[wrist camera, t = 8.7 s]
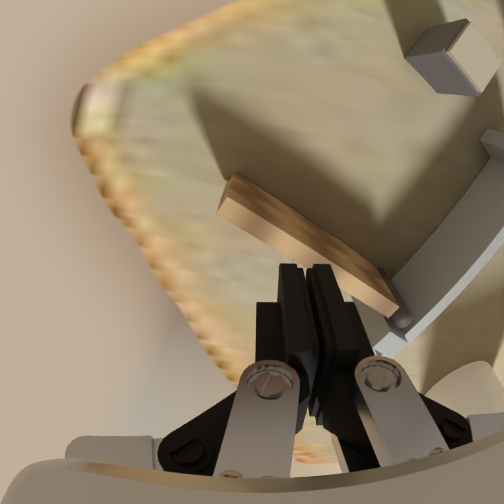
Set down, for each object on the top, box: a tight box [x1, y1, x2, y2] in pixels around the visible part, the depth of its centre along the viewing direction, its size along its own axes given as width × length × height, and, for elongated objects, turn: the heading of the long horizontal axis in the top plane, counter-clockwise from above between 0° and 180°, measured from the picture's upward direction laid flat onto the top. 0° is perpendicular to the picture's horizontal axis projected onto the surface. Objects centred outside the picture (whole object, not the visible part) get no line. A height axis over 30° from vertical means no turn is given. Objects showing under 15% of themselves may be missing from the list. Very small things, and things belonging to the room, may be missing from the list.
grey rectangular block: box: [404, 19, 502, 97], centre depth 19 cm, size 5×5×8 cm
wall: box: [351, 128, 504, 358], centre depth 26 cm, size 28×4×9 cm, turn 145°
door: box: [216, 172, 413, 328], centre depth 27 cm, size 20×2×8 cm, turn 57°
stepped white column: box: [424, 361, 504, 418], centre depth 34 cm, size 17×17×28 cm
